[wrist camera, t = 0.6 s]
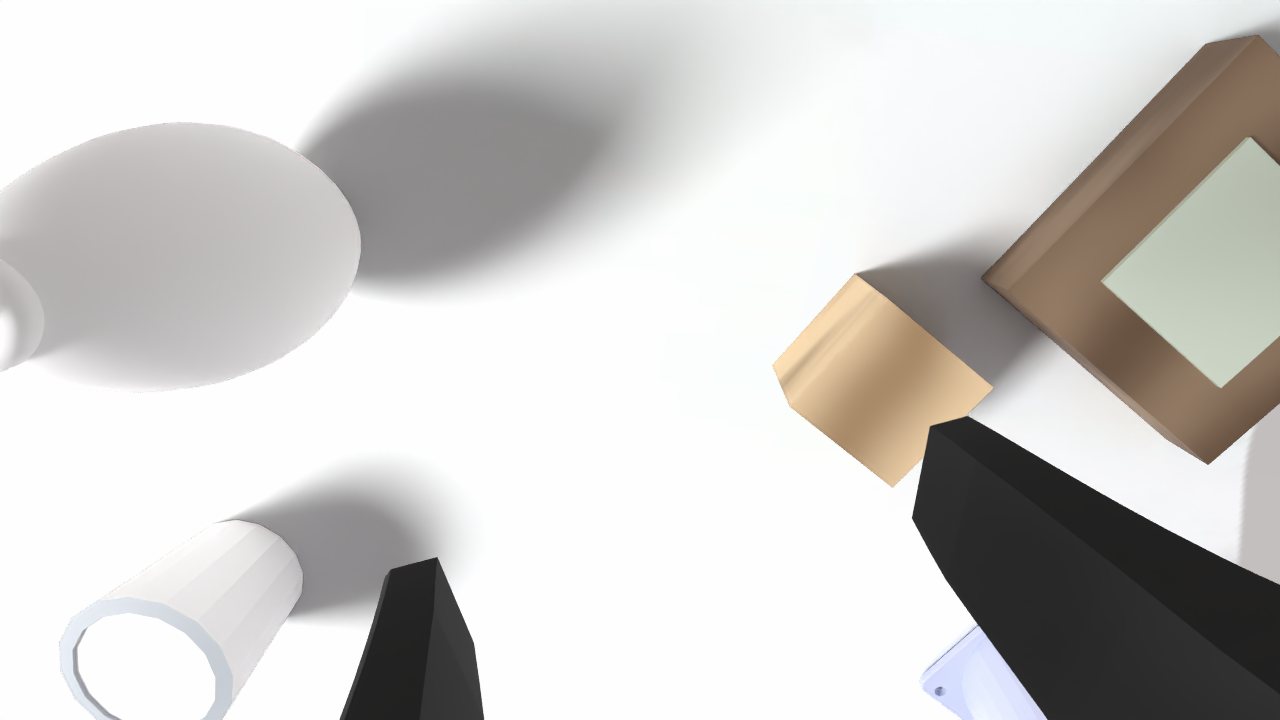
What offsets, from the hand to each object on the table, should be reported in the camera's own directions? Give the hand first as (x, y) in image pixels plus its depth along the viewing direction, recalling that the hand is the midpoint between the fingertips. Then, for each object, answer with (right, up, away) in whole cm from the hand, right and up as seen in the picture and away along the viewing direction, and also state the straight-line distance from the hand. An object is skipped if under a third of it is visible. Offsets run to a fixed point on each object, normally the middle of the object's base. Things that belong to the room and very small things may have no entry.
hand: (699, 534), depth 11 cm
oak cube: (+8, +3, +20) cm, 22 cm away
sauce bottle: (-14, +8, +20) cm, 26 cm away
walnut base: (+21, +7, +18) cm, 28 cm away
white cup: (-20, -8, +25) cm, 32 cm away
